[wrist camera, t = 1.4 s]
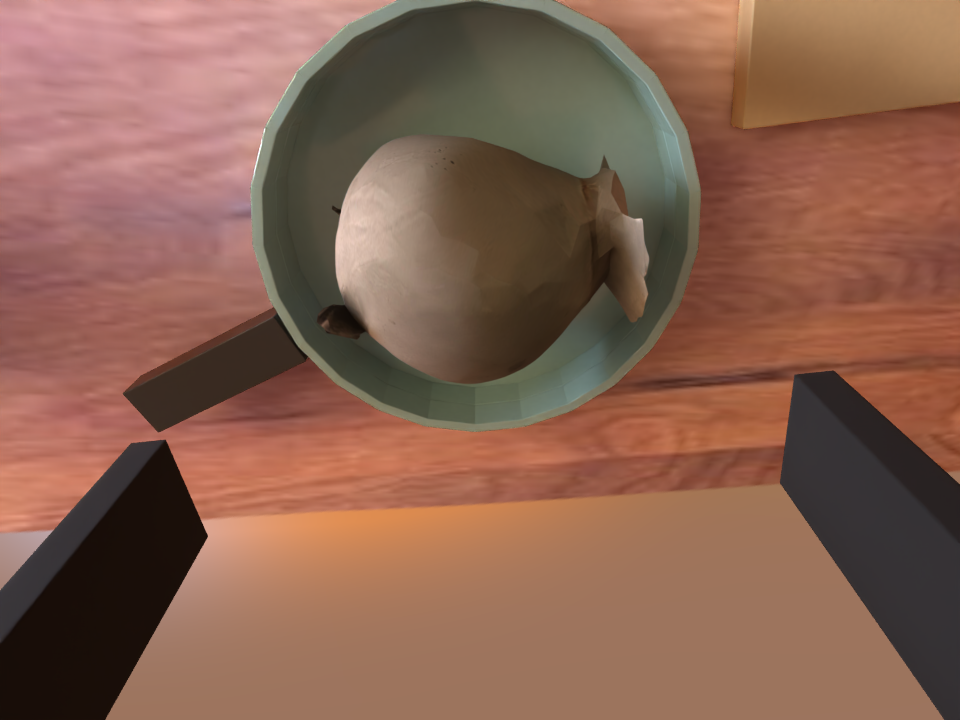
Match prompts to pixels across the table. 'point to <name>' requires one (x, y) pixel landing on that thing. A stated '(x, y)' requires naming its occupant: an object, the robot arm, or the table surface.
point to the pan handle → (215, 371)
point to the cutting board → (843, 58)
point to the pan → (493, 119)
